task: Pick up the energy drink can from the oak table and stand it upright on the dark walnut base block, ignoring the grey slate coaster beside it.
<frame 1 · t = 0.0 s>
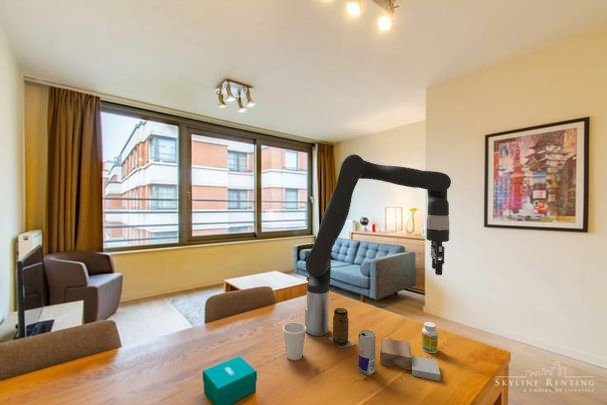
hand: (436, 271, 101), 29 cm above the table, fingers open, 8 cm apart
supplement bottle: (429, 350, 101), on the table
condiment: (341, 342, 107), on the table
energy drink: (366, 370, 89), on the table
slate coaster: (424, 370, 89), on the table
walnut base: (395, 358, 96), on the table
dixie cup: (294, 355, 97), on the table
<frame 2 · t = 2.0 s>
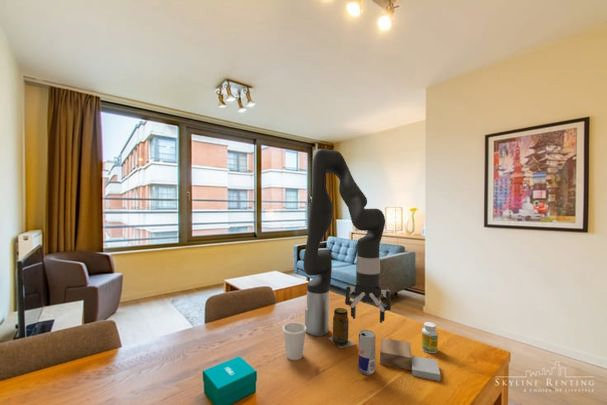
hand: (367, 319, 89), 16 cm above the table, fingers open, 8 cm apart
nothing on the table moved.
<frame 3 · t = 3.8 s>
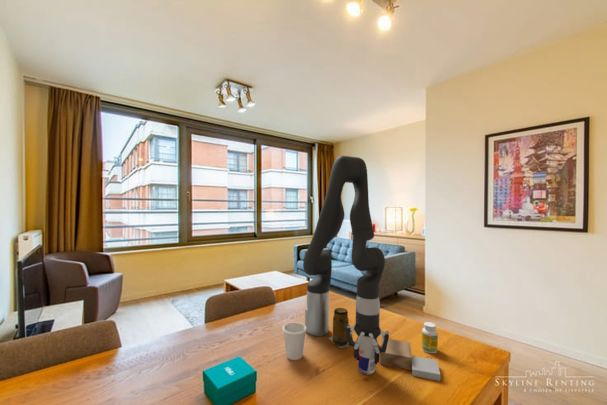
hand: (366, 360, 89), 3 cm above the table, fingers closed on energy drink, 5 cm apart
energy drink: (366, 370, 89), on the table, touching gripper
everything else where it was.
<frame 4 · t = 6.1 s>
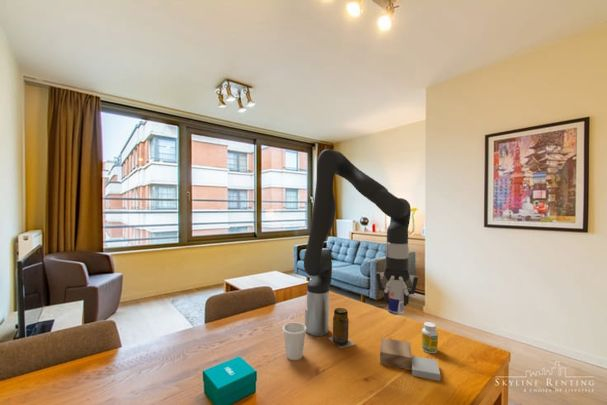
hand: (396, 303, 95), 19 cm above the table, fingers closed on energy drink, 5 cm apart
energy drink: (395, 312, 95), point 16 cm above the table, touching gripper
everything else where it was.
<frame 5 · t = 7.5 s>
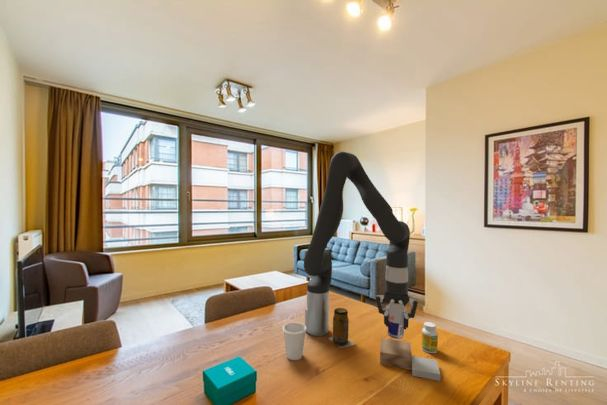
hand: (396, 326, 96), 11 cm above the table, fingers closed on energy drink, 5 cm apart
energy drink: (395, 336, 96), point 8 cm above the table, touching gripper
everything else where it was.
when the fingers open (8 cm above the table, at t = 8.6 s): energy drink stays where it is, resting on walnut base.
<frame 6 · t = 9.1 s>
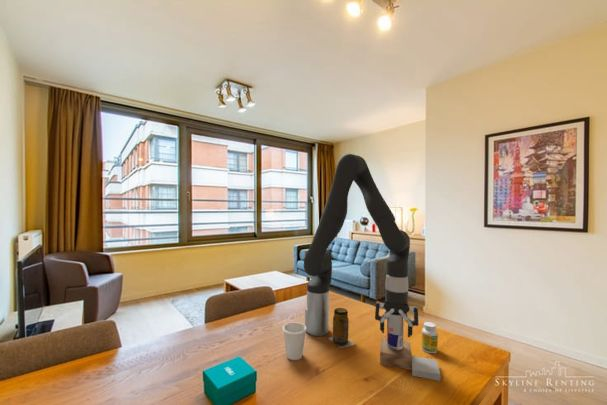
hand: (395, 334, 96), 9 cm above the table, fingers open, 8 cm apart
energy drink: (395, 347, 96), point 4 cm above the table, touching walnut base
everything else where it was.
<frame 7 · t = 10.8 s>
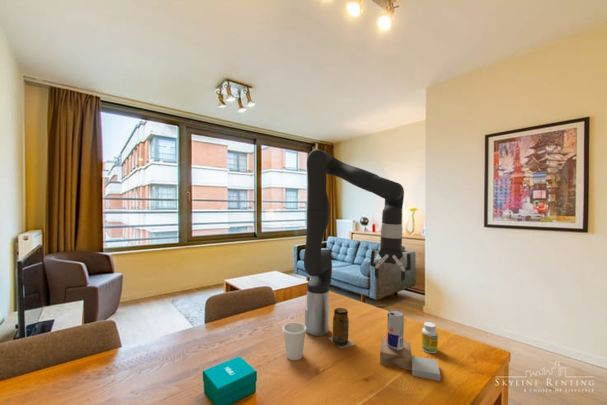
hand: (389, 279, 102), 26 cm above the table, fingers open, 8 cm apart
nothing on the table moved.
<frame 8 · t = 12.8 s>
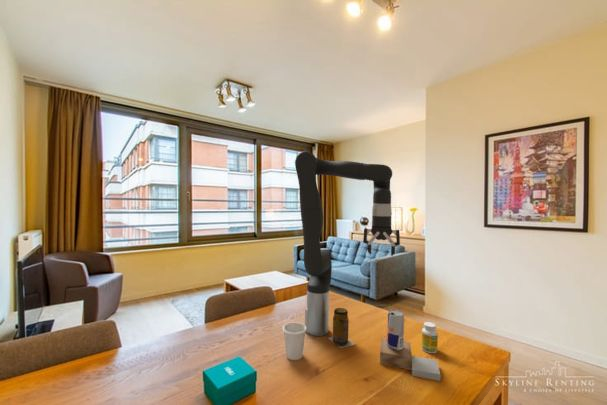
hand: (381, 254, 111), 33 cm above the table, fingers open, 8 cm apart
nothing on the table moved.
at the end: energy drink inside the target area on the walnut base (0.1 cm from its centre), point 3.8 cm above the walnut base's base; energy drink tilted 0°; the gripper is holding nothing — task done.
